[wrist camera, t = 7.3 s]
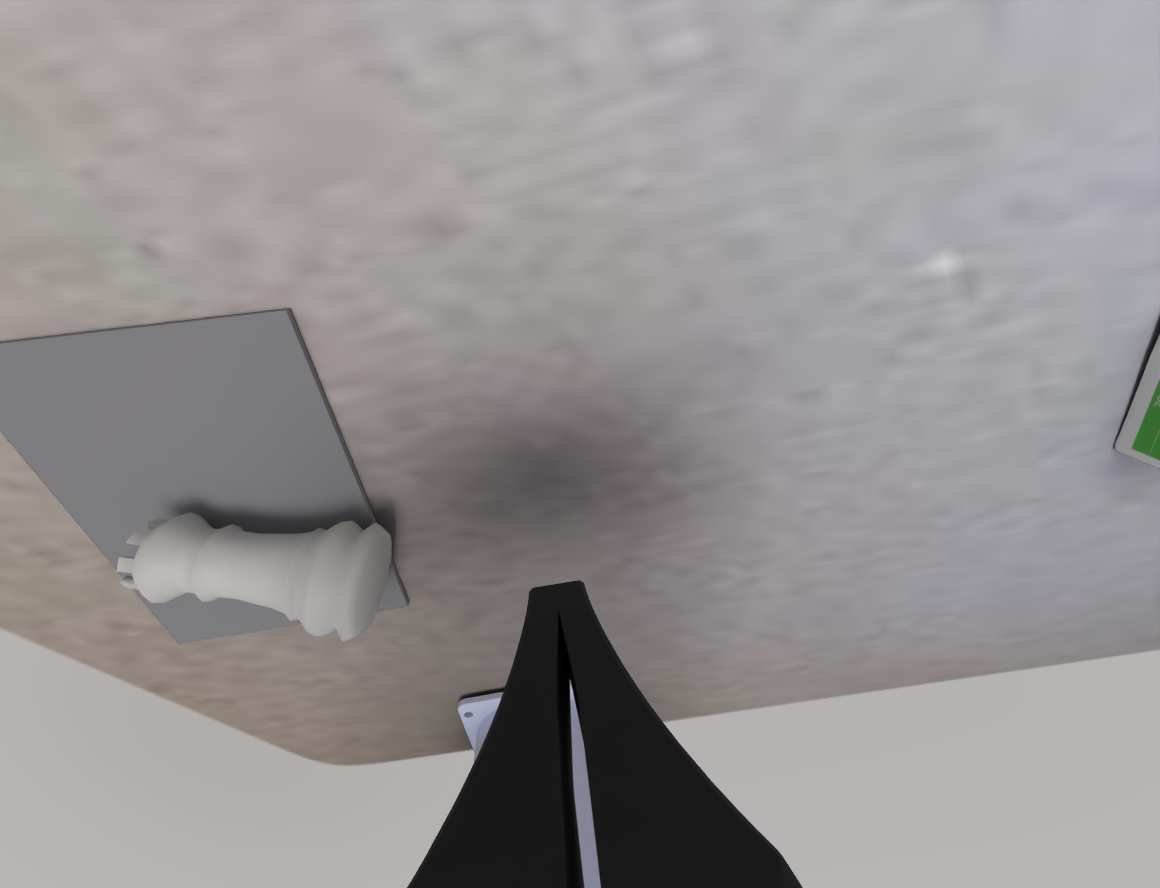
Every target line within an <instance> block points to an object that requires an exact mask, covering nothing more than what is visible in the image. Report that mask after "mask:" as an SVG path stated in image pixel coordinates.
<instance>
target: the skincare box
mask: <svg viewBox="0 0 1160 888" xmlns="http://www.w3.org/2000/svg"><path fill="white" fill-rule="evenodd" d="M1115 449H1116V450H1117V451H1118V452H1120V453H1122V454H1125V455H1127V456H1130V457H1132V458H1135V459H1137V460H1139V461H1142V462H1144V463H1147V464H1149V465H1151V466H1154V467H1156V468H1159V469H1160V335H1159V337H1158V339H1157V341H1156V344H1155V346H1154V348H1153V351H1152V353H1151V355H1150V358H1149V360H1148V363H1147V365H1146V368H1145V371H1144V374H1143V376H1142V379H1141V381H1140V384H1139V386H1138V389H1137V391H1136V394H1135V397H1134V399H1133V402H1132V404H1131V407H1130V409H1129V412H1128V414H1127V417H1126V419H1125V422H1124V424H1123V427H1122V429H1121V432H1120V434H1119V436H1118V438H1117V441H1116V443H1115Z"/></svg>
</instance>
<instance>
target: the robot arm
mask: <svg viewBox="0 0 1160 888" xmlns="http://www.w3.org/2000/svg"><path fill="white" fill-rule="evenodd" d="M458 712H459V715H460V717H461V720H462V722H463V725H464V727H465V730H466V732H467V735H468V737H469V740H470V742H471V745H472V747H473V750H474V752H475V759H474V764H473V766H472V769H471V771H470V773H469V775H468V777H467V779H466V781H465V783H464V785H463V787H462V789H461V792H460V793H459V795H458V797H457V799H456V801H455V803H454V805H453V807H452V809H451V811H450V813H449V814H448V816H447V818H446V820H445V822H444V824H443V826H442V827H441V829H440V831H439V833H438V835H437V836H436V838H435V840H434V842H433V844H432V846H431V848H430V850H429V851H428V853H427V855H426V857H425V858H424V860H423V862H422V864H421V865H420V867H419V869H418V871H417V872H416V874H415V876H414V877H413V879H412V881H411V882H410V884H409V886H408V887H407V888H802V886H801V884H800V883H799V881H798V880H797V878H796V876H795V875H794V873H793V872H792V870H791V869H790V867H789V866H788V864H787V862H786V861H785V860H784V858H783V856H782V855H781V854H780V853H779V851H778V850H777V849H776V848H775V847H774V846H773V845H772V844H771V843H770V842H769V841H768V840H767V839H766V838H765V837H764V836H763V835H762V834H761V833H760V832H759V831H758V830H757V829H756V828H755V827H754V826H753V825H752V824H751V823H750V822H749V821H748V820H747V819H746V818H745V817H744V816H743V815H742V814H741V813H740V812H739V811H738V810H737V808H736V807H735V806H734V805H733V804H732V803H731V802H730V801H729V800H728V799H727V798H726V797H725V795H724V794H723V793H722V792H721V791H720V790H719V789H718V788H717V787H716V786H715V785H714V783H713V782H712V781H711V780H710V779H709V778H708V777H707V775H706V774H705V773H704V772H703V771H702V769H701V768H700V767H699V766H698V765H697V764H696V762H695V761H694V760H693V759H692V758H691V757H690V755H689V754H688V753H687V752H686V751H685V750H684V748H683V747H682V746H681V745H680V744H679V743H678V741H677V740H676V739H675V737H674V736H673V735H672V733H671V732H670V731H669V730H668V728H667V727H666V726H665V724H664V723H663V722H662V721H661V719H660V718H659V717H658V715H657V714H656V712H655V711H654V710H653V708H652V707H651V706H650V704H649V703H648V702H647V700H646V699H645V697H644V696H643V694H642V693H641V691H640V690H639V689H638V687H637V686H636V684H635V683H634V681H633V679H632V678H631V676H630V675H629V673H628V672H627V670H626V669H625V667H624V665H623V664H622V662H621V660H620V659H619V657H618V656H617V654H616V652H615V650H614V649H613V647H612V645H611V643H610V641H609V640H608V638H607V636H606V634H605V632H604V630H603V629H602V627H601V625H600V623H599V621H598V618H597V616H596V614H595V612H594V610H593V608H592V605H591V603H590V600H589V598H588V595H587V592H586V589H585V585H584V583H583V582H581V581H580V580H578V581H572V582H566V583H560V584H554V585H548V586H542V587H536V588H532V590H531V591H530V592H529V600H528V606H527V612H526V617H525V622H524V626H523V630H522V634H521V638H520V642H519V645H518V649H517V652H516V655H515V659H514V662H513V666H512V669H511V672H510V675H509V678H508V680H507V683H506V686H505V689H504V692H499V693H493V694H488V695H482V696H476V697H471V698H465V699H462V700H461V701H460V702H459V703H458Z"/></svg>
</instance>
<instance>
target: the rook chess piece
mask: <svg viewBox="0 0 1160 888" xmlns="http://www.w3.org/2000/svg"><path fill="white" fill-rule="evenodd" d="M148 529H151V530H152V531H151V532H147V531H139V530H135V532H134V533H133V534H132V535H131V537H130V538H129V539H128V540H127V541H126V543H128V544H130V545H134V546H140V547H139V549H138V551H137V553H136V555H135V557H128V556H124V557H119V559H118V565H117V572H126V573H132V576H127V575H126V577H125V578H124V579H123V580H122V581H121V582H120V583H121V584H122V585H123V586H125V587H126V588H127V589H136V590H139V591H140V593H141V594H142V596H144V597H145V598H146V599H147V600H148V601H150V602H151V603H165V602H167V601H169V600H172V599H174V598H176V597H178V596H181V595H183V594H185V593H193V594H195V595H196V596H197V597H198V598H199V599H200V600H201V601H202V602H208V601H213V600H215V599H217V598H219V597H222V598H230V599H237V600H241V601H245V602H249V603H253V604H257V605H261V606H265V607H269V608H272V609H275V610H277V611H279V612H282V613H284V614H285V615H286V616H287V617H288V619H289V620H290V621H292V620H299V621H300V622H301V624H302V625H303V627H304V628H305V630H306V631H307V633H310V634H312V635H314V636H317V637H320V636H324V635H327V634H329V633H330V632H332V631H334V630H335V629H336V630H337V632H338V634H339V636H340V638H341V640H342V642H343V641H347V640H350V639H352V638H354V637H356V636H358V635H360V634H362V633H364V632H365V631H366V630H367V628H368V627H369V625H370V624H371V623H372V620H373V618H374V616H375V614H376V612H377V610H378V607H379V604H380V601H381V598H382V595H383V593H384V589H385V585H386V581H387V577H388V573H389V567H390V561H391V551H392V541H391V536H390V534H389V533H388V532H387V531H386V530H385V529H384V528H383V527H382V526H381V525H379V524H378V523H376V522H375V523H374V524H372V525H371V526H369V527H368V528H367V529H365V530H363V529H362V528H361V527H360V526H359V525H358V524H357V523H355V522H354V521H344V522H340V523H338V524H336V525H335V526H333V527H331V528H330V529H328V530H324V529H322V528H318V529H316V530H314V531H312V532H308V533H299V534H260V533H252V532H244V530H243V529H242V528H241V527H240V526H237V525H233V524H232V525H229V526H226V527H223V528H221V529H213V528H212V527H211V526H210V525H209V524H208V522H207V521H206V520H205V519H204V518H203V517H202V516H201V515H198V514H195V513H191V512H190V513H186V514H183V515H179V516H176V517H174V518H172V519H170V520H165V519H156V520H152V521H148Z"/></svg>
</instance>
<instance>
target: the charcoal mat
mask: <svg viewBox="0 0 1160 888" xmlns="http://www.w3.org/2000/svg"><path fill="white" fill-rule="evenodd" d="M0 432H1V433H2V434H3V435H4V436H5V438H6V439H7V440H8V441H9V442H10V443H11V445H12V446H13V447H14V448H15V449H16V451H17V452H18V453H19V454H20V455H21V457H22V458H23V459H24V460H25V461H26V463H27V464H28V465H29V466H30V467H31V469H32V470H33V471H34V472H35V473H36V475H37V476H38V477H39V478H40V479H41V481H42V482H43V483H44V484H45V485H46V486H47V488H48V489H49V490H50V491H51V492H52V494H53V495H54V496H55V497H56V498H57V500H58V501H59V502H60V503H61V504H62V506H63V507H64V508H65V509H66V510H67V512H68V513H69V514H70V515H71V516H72V518H73V519H74V520H75V521H76V522H77V524H78V525H79V526H80V527H81V528H82V529H83V531H84V532H85V533H86V534H87V535H88V537H89V538H90V539H91V540H92V541H93V543H94V544H95V545H96V546H97V547H98V549H99V550H100V551H101V552H102V553H103V555H104V556H105V557H106V558H107V559H108V561H109V562H110V563H111V564H112V565H113V567H114V568H115V569H116V570H117V565H118V559H119V557H124V556H128V557H135V555H136V553H137V551H138V549H139V547H140V546H134V545H130V544H128V543H126V541H127V540H128V539H129V538H130V537H131V535H132V534H133V533H134V532H135V530H139V531H147V532H151V531H152V530H151V529H148V521H152V520H156V519H165V520H170V519H172V518H174V517H176V516H179V515H183V514H186V513H190V512H191V513H195V514H198V515H201V516H202V517H203V518H204V519H205V520H206V521H207V522H208V524H209V525H210V526H211V527H212V528H213V529H221V528H223V527H226V526H229V525H232V524H233V525H237V526H240V527H241V528H242V529H243V530H244V532H252V533H260V534H299V533H308V532H312V531H314V530H316V529H318V528H322V529H324V530H328V529H330V528H331V527H333V526H335V525H336V524H338V523H340V522H344V521H354V522H355V523H357V524H358V525H359V526H360V527H361V528H362V529H363V530H365V529H367V528H368V527H369V526H371V525H372V524H374V523H375V522H376V523H377V521H376V519H375V516H374V514H373V511H372V509H371V506H370V504H369V501H368V499H367V497H366V494H365V492H364V489H363V487H362V484H361V482H360V479H359V477H358V474H357V472H356V470H355V467H354V465H353V462H352V460H351V457H350V455H349V452H348V450H347V447H346V445H345V442H344V440H343V438H342V435H341V433H340V430H339V428H338V425H337V423H336V420H335V418H334V415H333V413H332V410H331V408H330V406H329V403H328V401H327V398H326V396H325V393H324V391H323V388H322V386H321V383H320V381H319V378H318V376H317V374H316V371H315V369H314V366H313V364H312V361H311V359H310V356H309V354H308V351H307V349H306V347H305V344H304V342H303V339H302V337H301V334H300V332H299V329H298V327H297V324H296V322H295V319H294V317H293V315H292V312H291V310H290V308H288V309H280V310H271V311H263V312H254V313H245V314H237V315H228V316H220V317H211V318H203V319H194V320H185V321H177V322H168V323H160V324H151V325H142V326H134V327H125V328H117V329H108V330H99V331H91V332H82V333H74V334H65V335H57V336H48V337H39V338H31V339H22V340H14V341H5V342H0ZM119 574H120V575H121V576H122V577H123V578H125V577H126V575H127V576H132V573H126V572H119ZM133 590H134V592H135V593H136V594H137V595H138V596H139V598H140V599H141V600H142V601H143V602H144V604H145V605H146V606H147V607H148V608H149V610H150V611H151V612H152V613H153V614H154V616H155V617H156V618H157V619H158V620H159V621H160V623H161V624H162V625H163V626H164V627H165V629H166V630H167V631H168V632H169V633H170V635H171V636H172V637H173V638H174V639H175V641H176V642H177V643H178V644H181V643H187V642H193V641H200V640H206V639H212V638H218V637H224V636H230V635H236V634H243V633H249V632H255V631H261V630H267V629H273V628H279V627H285V626H292V625H298V624H301V622H300V621H299V620H292V621H290V620H289V619H288V617H287V616H286V615H285V614H284V613H282V612H279V611H277V610H275V609H272V608H269V607H265V606H261V605H257V604H253V603H249V602H245V601H241V600H237V599H230V598H222V597H219V598H217V599H215V600H213V601H208V602H202V601H201V600H200V599H199V598H198V597H197V596H196V595H195V594H193V593H185V594H183V595H181V596H178V597H176V598H174V599H172V600H169V601H167V602H165V603H151V602H150V601H148V600H147V599H146V598H145V597H144V596H142V594H141V593H140V591H139V590H136V589H133ZM408 604H409V600H408V597H407V595H406V592H405V590H404V588H403V585H402V583H401V580H400V578H399V575H398V573H397V570H396V568H395V565H394V563H393V561H392V558H391V561H390V567H389V573H388V577H387V581H386V585H385V589H384V593H383V595H382V598H381V601H380V604H379V607H378V610H377V611H384V610H390V609H396V608H402V607H408Z"/></svg>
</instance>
